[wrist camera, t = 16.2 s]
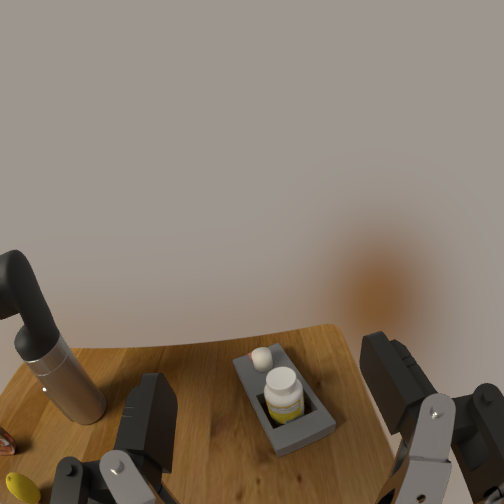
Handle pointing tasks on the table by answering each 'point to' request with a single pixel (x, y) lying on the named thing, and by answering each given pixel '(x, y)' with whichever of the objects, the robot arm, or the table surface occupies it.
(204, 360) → the table surface
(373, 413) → the table surface
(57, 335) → the robot arm
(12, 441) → the tin
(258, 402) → the grey square-hole tray
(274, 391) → the supplement bottle
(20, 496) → the lemon
